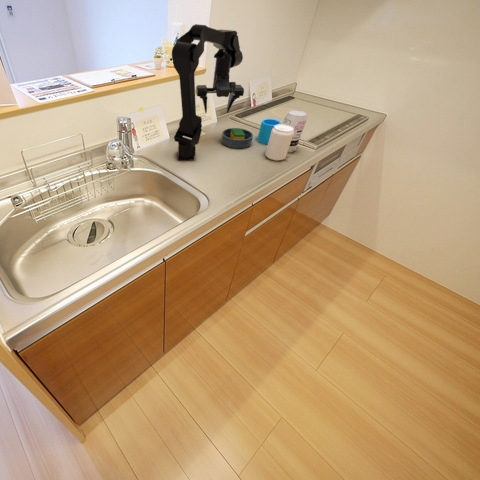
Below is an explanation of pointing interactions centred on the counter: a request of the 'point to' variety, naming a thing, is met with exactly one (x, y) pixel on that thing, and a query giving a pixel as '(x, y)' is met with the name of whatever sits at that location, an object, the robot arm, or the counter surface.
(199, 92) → the robot arm
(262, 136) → the mug
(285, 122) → the supplement can
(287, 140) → the beverage can
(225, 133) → the bowl
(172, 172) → the counter surface
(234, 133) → the sponge
